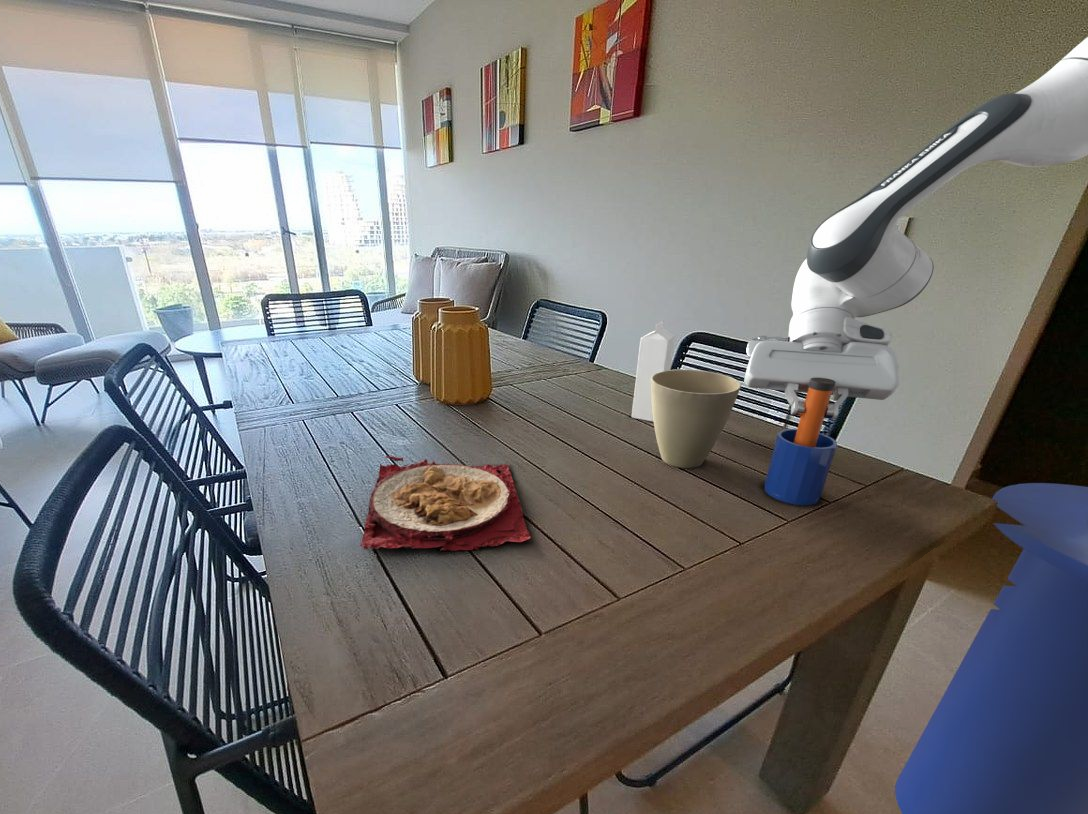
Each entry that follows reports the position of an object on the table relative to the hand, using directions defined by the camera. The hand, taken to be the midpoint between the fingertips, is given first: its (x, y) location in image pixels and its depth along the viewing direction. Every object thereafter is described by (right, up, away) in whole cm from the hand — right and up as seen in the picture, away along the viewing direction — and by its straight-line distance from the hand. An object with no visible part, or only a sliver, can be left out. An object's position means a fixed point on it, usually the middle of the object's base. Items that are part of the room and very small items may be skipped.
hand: (814, 415), depth 74 cm
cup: (0, -13, +6) cm, 14 cm away
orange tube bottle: (0, -6, +3) cm, 7 cm away
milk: (-12, +3, +41) cm, 42 cm away
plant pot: (-13, -7, +18) cm, 24 cm away
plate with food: (-57, -14, +5) cm, 59 cm away
